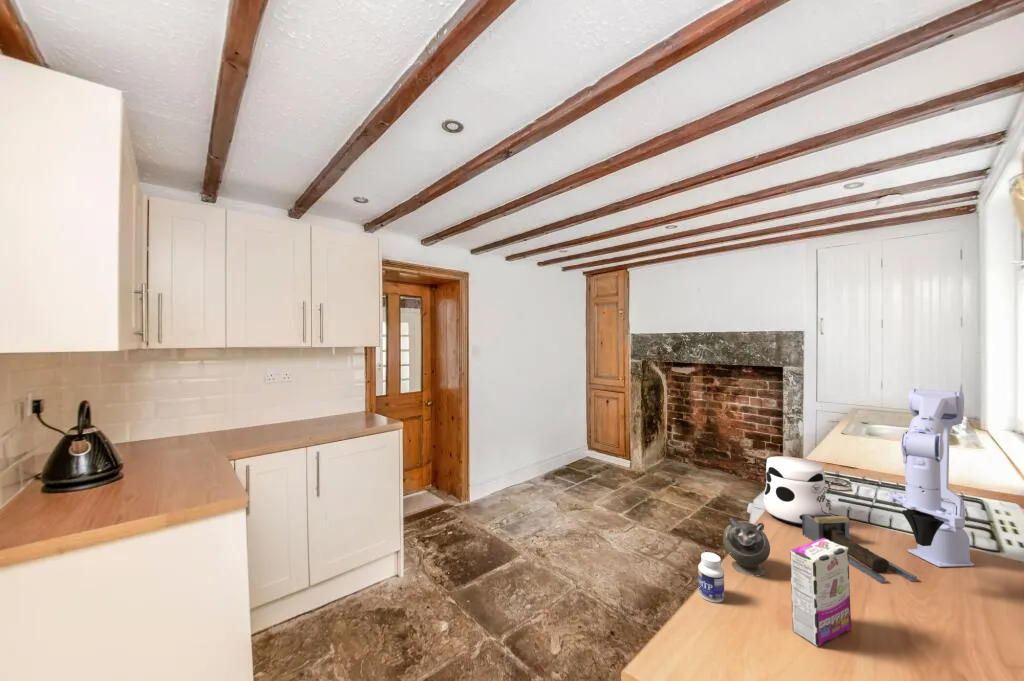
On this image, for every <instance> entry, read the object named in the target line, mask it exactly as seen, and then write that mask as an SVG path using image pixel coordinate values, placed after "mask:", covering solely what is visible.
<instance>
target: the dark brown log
mask: <svg viewBox="0 0 1024 681" xmlns="http://www.w3.org/2000/svg"><path fill="white" fill-rule="evenodd" d="M823 534H824V536H823V538H824V539H828V540H830V541H832V542H835V543H837V544H840V545H842V546H845V547H847V548H848V555H851V556H852V557H853V558H854V559H857V561H858V560H859V562H860V563H862V564H863V565H865V566H867V567H868V568H870V569H872V570H873V571H875V572H877V573H878V574H887V572H888V571H889V569H888V566H889V562H890V561H889V560H887V559H886V558H884V557H882V558H881V556H880V555H878V554H876V553H875V552H873V551H871V550H869V549H868V548H867V547H864V548H863V545H860V544H858V542H855V541H854V540H852V539H851V538H850V537H849V538H847V537H846V536H844V532H842V531H840V530H839V529H837V528H836V527H834V526H831V525H829V524H827V525H825V526H824V528H823ZM870 551H871V552H870ZM872 552H873V553H872ZM874 553H875V554H876V555H875V554H874ZM877 555H878V556H877ZM879 556H880V557H879ZM888 561H889V562H888Z"/></svg>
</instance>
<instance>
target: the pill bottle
mask: <svg viewBox="0 0 1024 681" xmlns="http://www.w3.org/2000/svg"><path fill="white" fill-rule="evenodd" d="M700 558H701V559H700V562H699V564H698V565H697V566H698V569H697V572H698V573H697V574H698V575H697V577H698V580H697V583H698V584H697V585H698V586H697V587H698V588H699V587H700V586H701V587H700V588H699V590H698V594H699V596H700V597H701V598H702V599H704V600H705V601H707V602H711V603H721V602H723V601H724V600H725V571H724V569H723V567H722V566H721V565H722V558H721V557H720V556H719V555H717V553H713V552H706V551H705V552H702V553H701V556H700ZM704 581H705V582H704ZM703 582H704V583H703ZM702 583H703V584H702ZM698 588H697V589H698Z"/></svg>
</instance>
